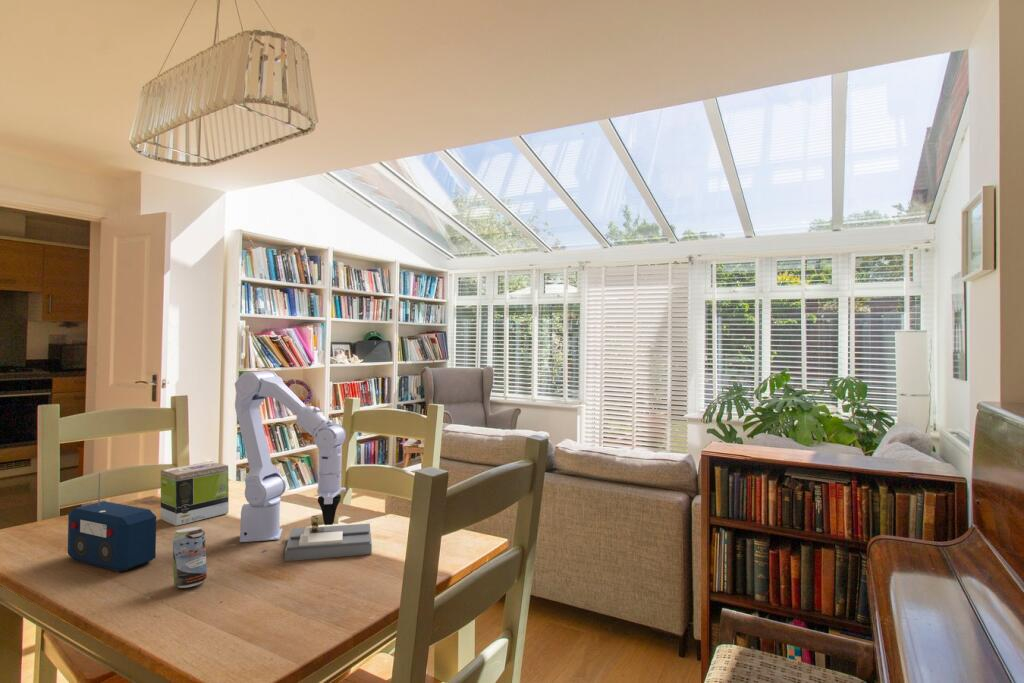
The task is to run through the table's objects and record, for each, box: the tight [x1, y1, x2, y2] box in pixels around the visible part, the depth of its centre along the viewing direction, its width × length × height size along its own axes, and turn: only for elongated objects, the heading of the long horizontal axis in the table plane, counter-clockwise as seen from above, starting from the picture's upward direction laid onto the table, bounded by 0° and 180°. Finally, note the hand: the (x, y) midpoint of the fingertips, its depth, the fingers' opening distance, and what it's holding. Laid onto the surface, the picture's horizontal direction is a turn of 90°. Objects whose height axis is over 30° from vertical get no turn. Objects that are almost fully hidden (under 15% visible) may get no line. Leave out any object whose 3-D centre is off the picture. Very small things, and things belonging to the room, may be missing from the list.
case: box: [284, 523, 373, 562], centre depth 143 cm, size 20×16×3 cm
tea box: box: [160, 460, 230, 527], centre depth 164 cm, size 15×10×15 cm, turn 144°
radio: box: [67, 473, 157, 573], centre depth 131 cm, size 21×9×20 cm, turn 68°
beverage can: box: [172, 525, 208, 589], centre depth 119 cm, size 6×7×12 cm
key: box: [310, 513, 340, 531], centre depth 147 cm, size 7×2×4 cm, turn 106°
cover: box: [299, 527, 343, 546], centre depth 139 cm, size 10×6×3 cm, turn 106°
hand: (328, 524), depth 146 cm, fingers closed, pressing on key
